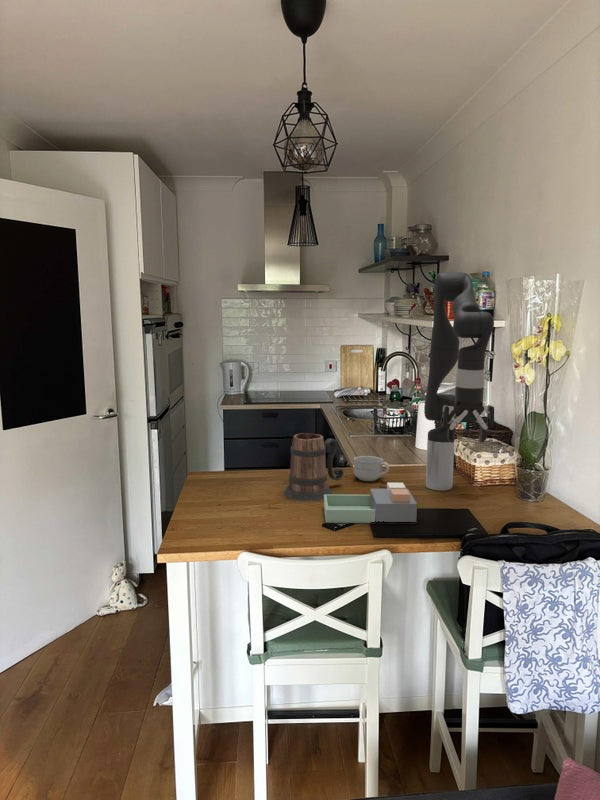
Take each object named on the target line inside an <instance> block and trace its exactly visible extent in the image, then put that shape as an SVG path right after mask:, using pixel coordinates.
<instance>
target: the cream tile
mask: <svg viewBox="0 0 600 800" xmlns="http://www.w3.org/2000/svg"><path fill="white" fill-rule="evenodd" d="M386 489H387V492H388V494H389V495H390V489H407V487H406V486H405V484H404V482H386Z"/></svg>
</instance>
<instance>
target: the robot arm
mask: <svg viewBox="0 0 600 800" xmlns="http://www.w3.org/2000/svg"><path fill="white" fill-rule="evenodd" d="M474 292H475V291H474V285H473V281H472V278H471V276H470V275H469V274H468V273H467V272H461V271H459V272H457V271H455V272H453V271H452V272H451V271H447V272H445V271H444V272H443V271H442V272H439V273H437V275H436V277H435V281H434V291H433V294H434V295H433V320H432V321H433V322H432V323H433V324H432V325H433V326H432V329H431V330H432V331H431V338H430V339H431V340H430V351H429V366H428V379H427V387H426V394H425V400H424V409H423V411H424V412H423V413H424V417H425V419H426V420H427V421H435V422H436V421H437V422H440V426H437V427H435V428H432V429H430V430H429V431H428V432H427V442H426V464H425V465H426V467H425V470H426V471H425V488H427V489H429V490H434V491H449V490H452V489H453V480H454V479H453V477H454V458H455V455H454V454H455V438H456V426H457V425H458V424H460V422H473V423H474V422H476V423H477V424H478V425H479V426H480V428H479V433H478V434H479V435H478V436H479V439H478V441H479V442H480V443H485V441H487V433H488V429H490V428H494V427H495V406H492V405H491V404H488V405H484V404H483V403H484V390H485V389H484V388H485V383H486V382H485V359H486V353H487V347H488V344H489V341H490V339H491V337H492V333H493V330H494V327H495V319H494V317H493V315H492V314H491V313H490V312H487V311H481V308H480V306H479V305H478V303H477V301H476V298H475V293H474ZM446 302H447V303H449V302H450V303H452V306H451V310H452V313H453V315H454V318H453V323H451V321H450V319H449V317H448V315H447V311H446V307H445V306H446V305H445V303H446ZM452 324H453V325H452ZM460 338H462V339H477V340H476V341H475V343H474V344H472V345H468V346H463V347H461V348H460ZM456 364H457V367H456V368H457V369H456V375H455V390H454V394H448V393H445V394H444V393H443V394H442V393H440V394H439V393H438V391H439V388H440V386H441V384H442V382H443V381H444V379H445V378H446V377H447V376H448V375H449V374H450V372H451V371H452V370H453V369H454V368H455V366H456ZM483 412H485V414H486V422H485V421H484V419H483V418H482V416H481V415H482V414H483Z"/></svg>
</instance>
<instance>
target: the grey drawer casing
mask: <svg viewBox="0 0 600 800" xmlns="http://www.w3.org/2000/svg"><path fill="white" fill-rule="evenodd" d="M406 489H407V490H408V492H409V494H410V503H393V502H392V500H391V498H390V495H389V494H388V492H387V488H370V490H369V491H370V493H369V495H370V508H371V509H375V521H376V522H378V521H379V522H383V521H384V522H416V523H417V513H418V512H417V511H418V503H417V502H416V500H415V498H414V496H413V495H412V493H411V491H410V489H409V488H406ZM376 522H375V523H376Z"/></svg>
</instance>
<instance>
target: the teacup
mask: <svg viewBox="0 0 600 800" xmlns="http://www.w3.org/2000/svg"><path fill="white" fill-rule="evenodd" d="M384 466H385V467H386V468H385V470H384V471H383V467H384ZM389 471H390V464H389V463H388V462H387V461H384V459H383V458H381V457H379V456H374V455H373V456H371V455H361V456H355V457H353V473H354V475H355V477H357V478H358V479H359V480H360V481H364V482H374V481H375V482H376V481H377V480H379V478H381V477H383V475H385V474H387V473H389Z"/></svg>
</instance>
